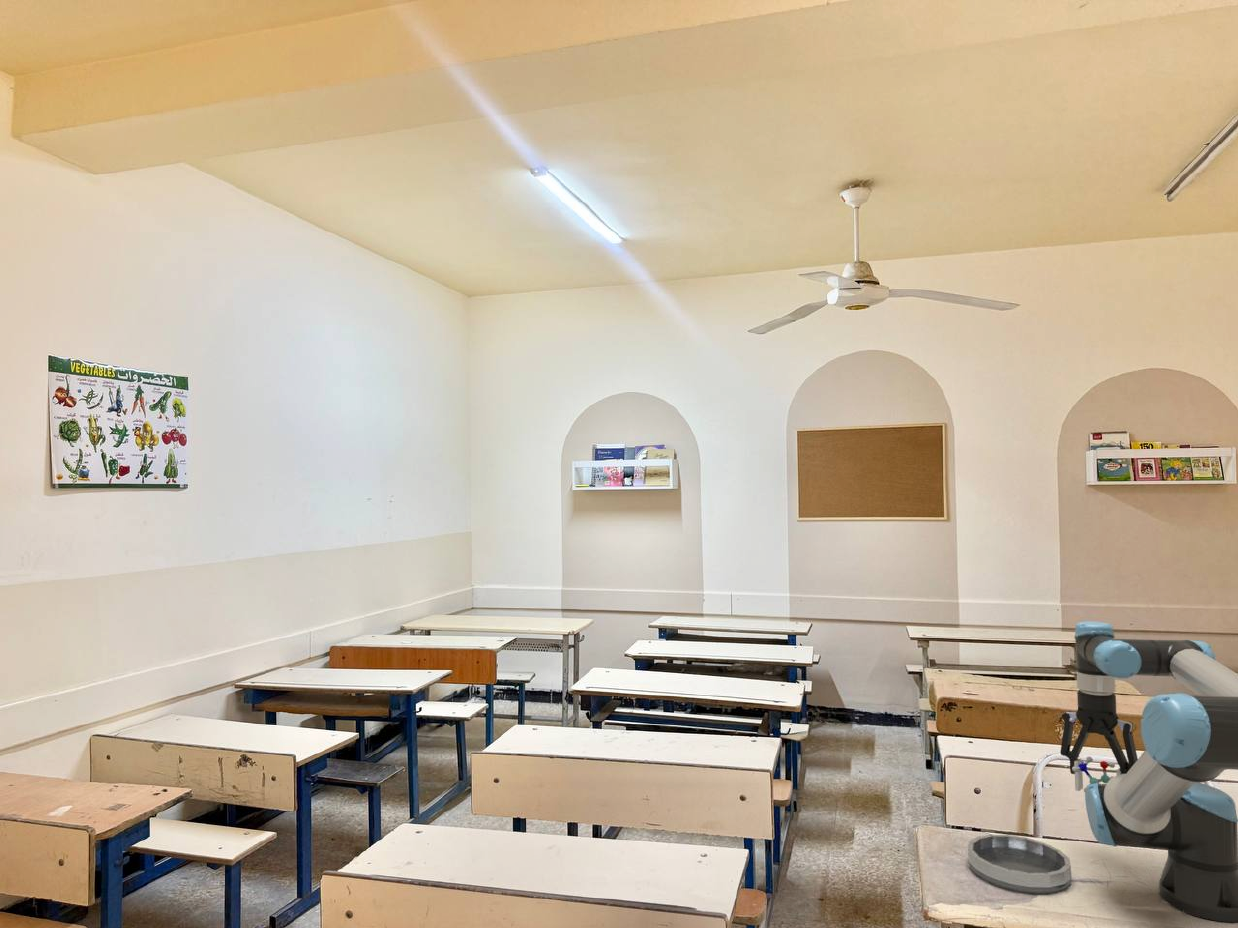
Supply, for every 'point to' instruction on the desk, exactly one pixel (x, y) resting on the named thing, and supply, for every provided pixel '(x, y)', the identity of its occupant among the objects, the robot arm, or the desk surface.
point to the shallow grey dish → (1019, 864)
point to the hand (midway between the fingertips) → (1099, 793)
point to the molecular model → (1092, 780)
